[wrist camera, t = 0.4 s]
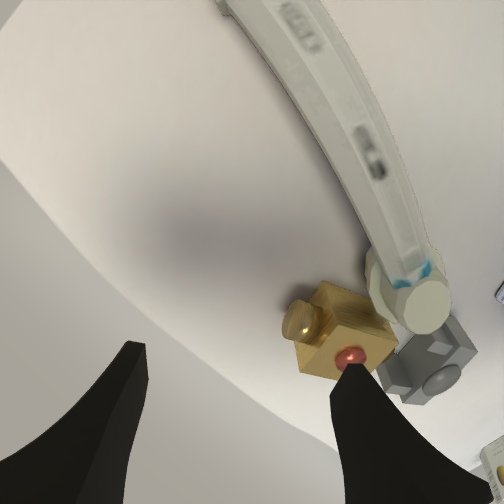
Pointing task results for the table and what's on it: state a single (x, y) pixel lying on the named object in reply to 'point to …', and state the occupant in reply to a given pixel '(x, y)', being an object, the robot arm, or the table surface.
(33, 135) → the table surface
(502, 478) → the supplement box
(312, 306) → the valve
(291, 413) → the table surface
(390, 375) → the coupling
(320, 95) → the toothbrush head
